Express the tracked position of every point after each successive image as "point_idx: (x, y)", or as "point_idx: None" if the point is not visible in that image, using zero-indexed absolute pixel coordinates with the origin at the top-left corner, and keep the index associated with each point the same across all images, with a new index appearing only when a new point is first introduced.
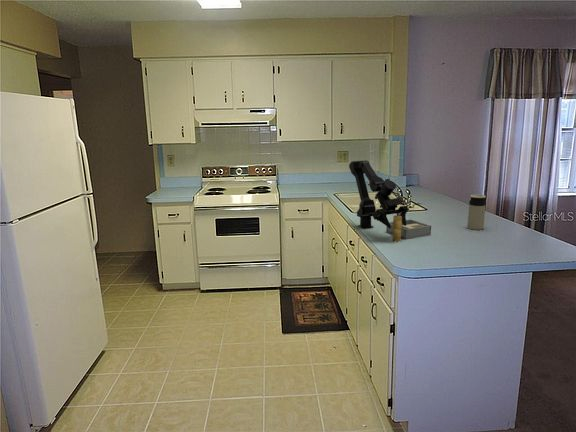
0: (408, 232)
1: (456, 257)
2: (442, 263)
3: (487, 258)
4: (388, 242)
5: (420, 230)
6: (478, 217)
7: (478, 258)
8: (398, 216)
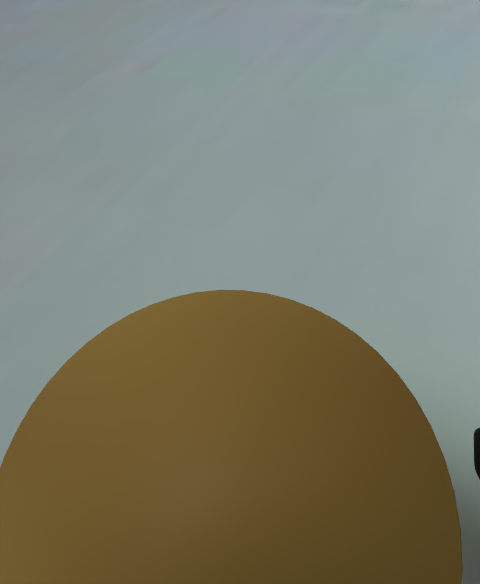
0: None
1: (119, 55)
2: (251, 11)
3: (4, 33)
4: None
5: None
6: None
7: (38, 36)
8: (184, 446)
